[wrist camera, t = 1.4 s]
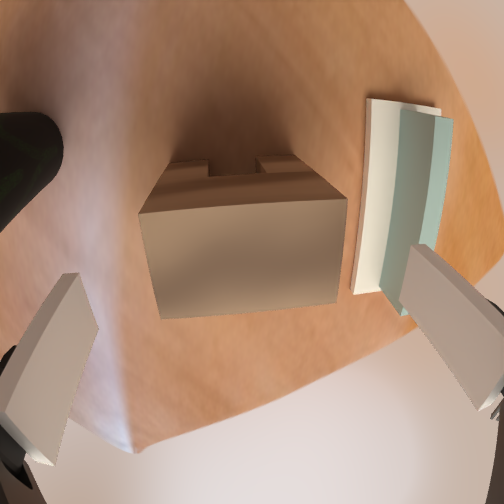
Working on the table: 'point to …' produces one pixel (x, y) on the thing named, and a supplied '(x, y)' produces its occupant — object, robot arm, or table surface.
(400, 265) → the inverted t-shaped bar
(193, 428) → the table surface
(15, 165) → the cup
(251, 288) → the brown notched block
